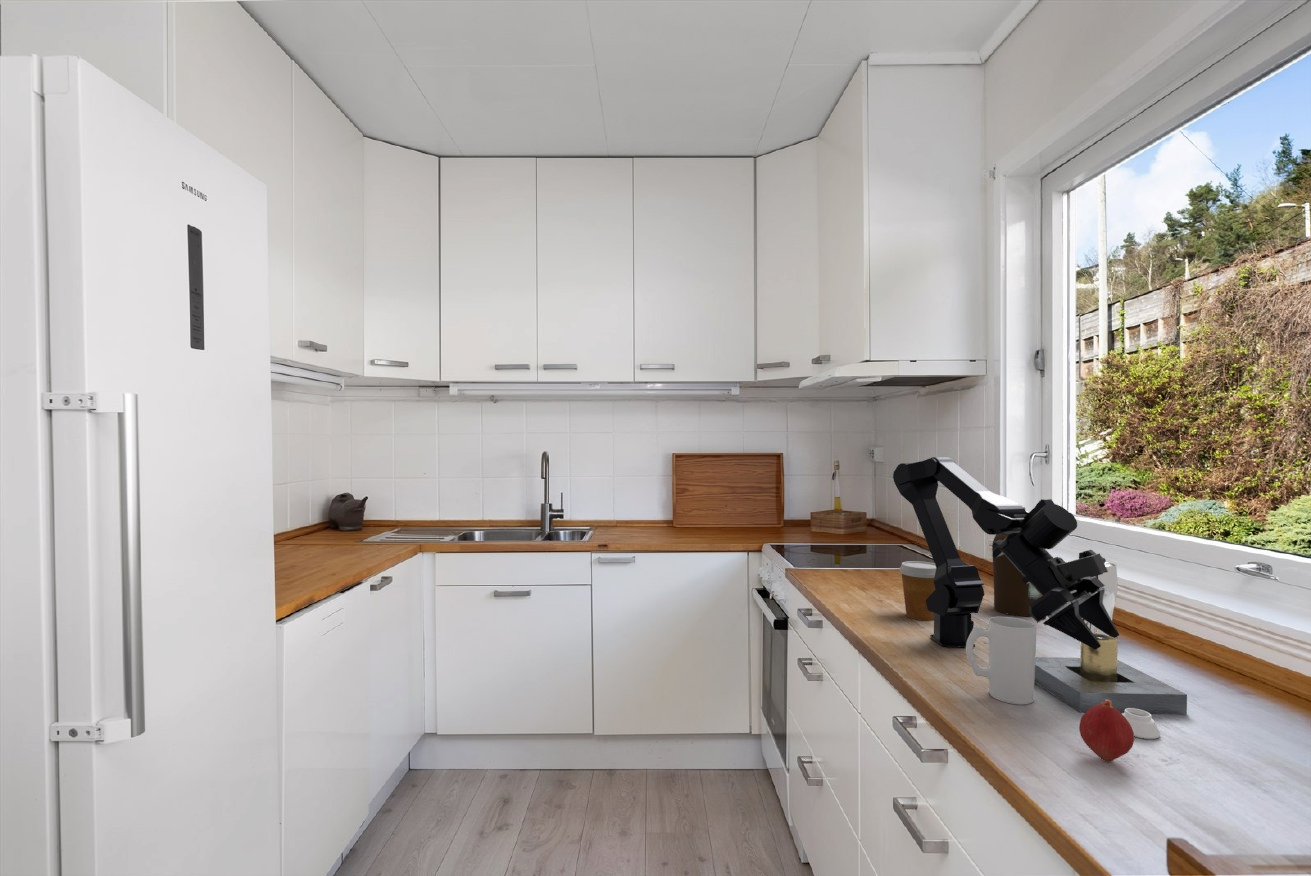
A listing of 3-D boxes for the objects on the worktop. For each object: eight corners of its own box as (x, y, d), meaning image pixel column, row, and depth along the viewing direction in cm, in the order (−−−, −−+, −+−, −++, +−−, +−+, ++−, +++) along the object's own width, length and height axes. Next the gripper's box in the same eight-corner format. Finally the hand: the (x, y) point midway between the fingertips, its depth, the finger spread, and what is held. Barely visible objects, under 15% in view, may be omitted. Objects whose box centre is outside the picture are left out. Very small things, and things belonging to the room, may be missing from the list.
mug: (1030, 692, 107) (1031, 618, 107) (1040, 708, 101) (1041, 630, 101) (962, 684, 111) (963, 612, 110) (968, 699, 104) (969, 623, 104)
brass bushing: (1092, 698, 105) (1093, 641, 105) (1073, 686, 110) (1074, 632, 110) (1124, 699, 105) (1125, 642, 105) (1103, 687, 110) (1104, 632, 110)
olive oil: (984, 610, 157) (986, 506, 157) (1000, 603, 165) (1001, 503, 165) (1033, 620, 150) (1035, 510, 150) (1047, 611, 157) (1049, 507, 157)
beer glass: (1123, 639, 136) (1124, 567, 136) (1085, 637, 137) (1086, 565, 137) (1107, 630, 143) (1108, 561, 143) (1071, 627, 144) (1072, 559, 144)
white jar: (1160, 732, 94) (1117, 722, 97) (1160, 711, 94) (1118, 702, 97) (1159, 744, 90) (1114, 734, 93) (1159, 723, 90) (1114, 713, 93)
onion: (1068, 750, 87) (1069, 690, 87) (1109, 749, 88) (1110, 689, 88) (1101, 773, 82) (1102, 708, 82) (1145, 771, 82) (1146, 707, 82)
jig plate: (1079, 712, 100) (1079, 692, 100) (1022, 673, 116) (1022, 656, 116) (1186, 714, 99) (1187, 694, 99) (1114, 675, 115) (1114, 658, 115)
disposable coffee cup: (889, 613, 154) (890, 562, 154) (919, 609, 158) (920, 559, 158) (921, 624, 145) (922, 570, 145) (952, 619, 149) (953, 567, 149)
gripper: (1051, 540, 104) (1133, 625, 96) (1091, 530, 116) (1167, 605, 108) (998, 580, 111) (1071, 664, 102) (1042, 567, 123) (1110, 641, 114)
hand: (1108, 642), depth 106 cm, fingers open, 9 cm apart
